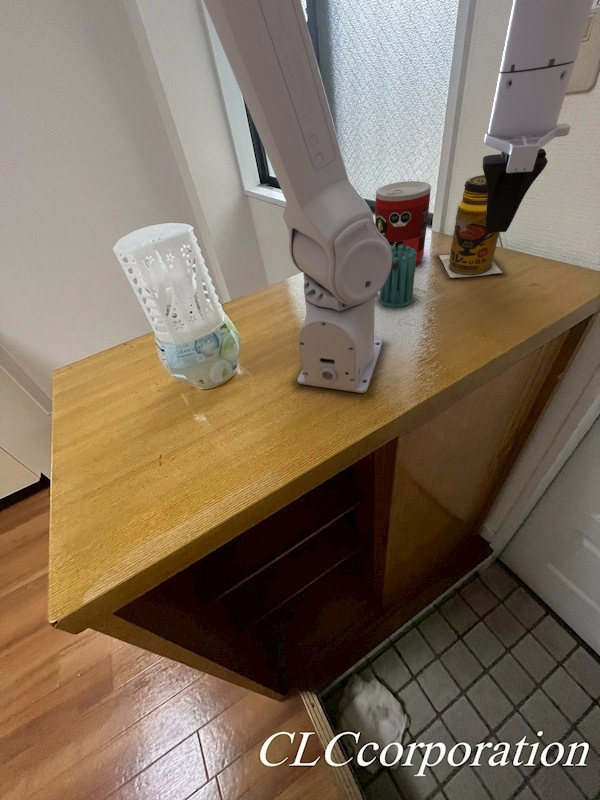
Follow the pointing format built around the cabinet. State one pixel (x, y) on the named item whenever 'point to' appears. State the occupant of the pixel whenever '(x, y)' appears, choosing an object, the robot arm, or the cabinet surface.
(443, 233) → the cabinet surface
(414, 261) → the pencil holder
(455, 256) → the condiment
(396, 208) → the canned food
